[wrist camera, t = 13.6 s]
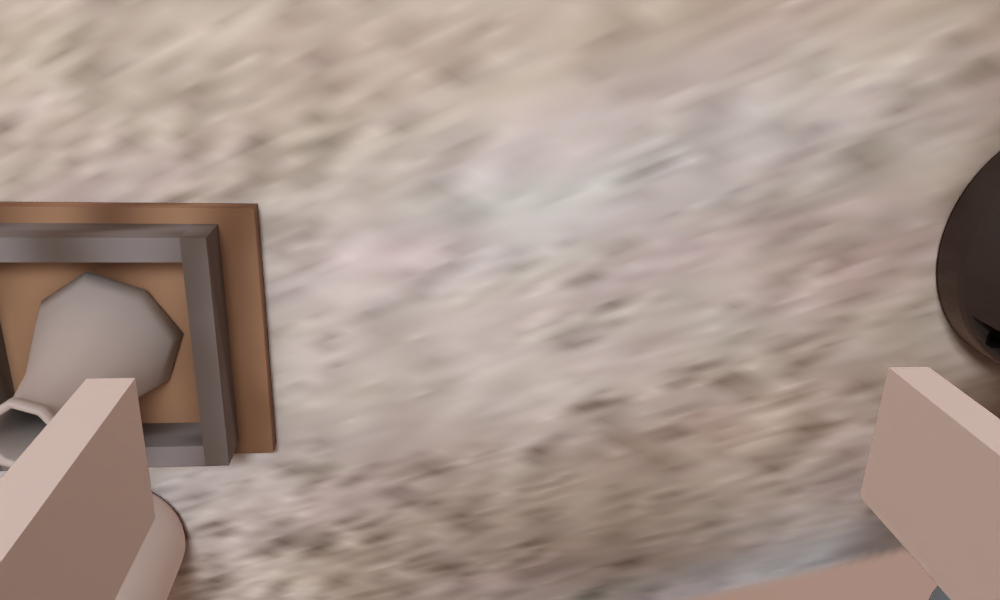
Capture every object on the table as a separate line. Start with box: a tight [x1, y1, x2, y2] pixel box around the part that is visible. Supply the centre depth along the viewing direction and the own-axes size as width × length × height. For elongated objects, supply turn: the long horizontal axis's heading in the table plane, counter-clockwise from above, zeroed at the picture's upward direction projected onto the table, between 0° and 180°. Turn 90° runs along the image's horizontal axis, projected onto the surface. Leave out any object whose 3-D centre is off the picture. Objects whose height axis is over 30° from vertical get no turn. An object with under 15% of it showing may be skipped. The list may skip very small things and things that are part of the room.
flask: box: [0, 271, 182, 468], centre depth 37 cm, size 7×7×10 cm
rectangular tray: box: [0, 202, 276, 471], centre depth 41 cm, size 16×14×4 cm
